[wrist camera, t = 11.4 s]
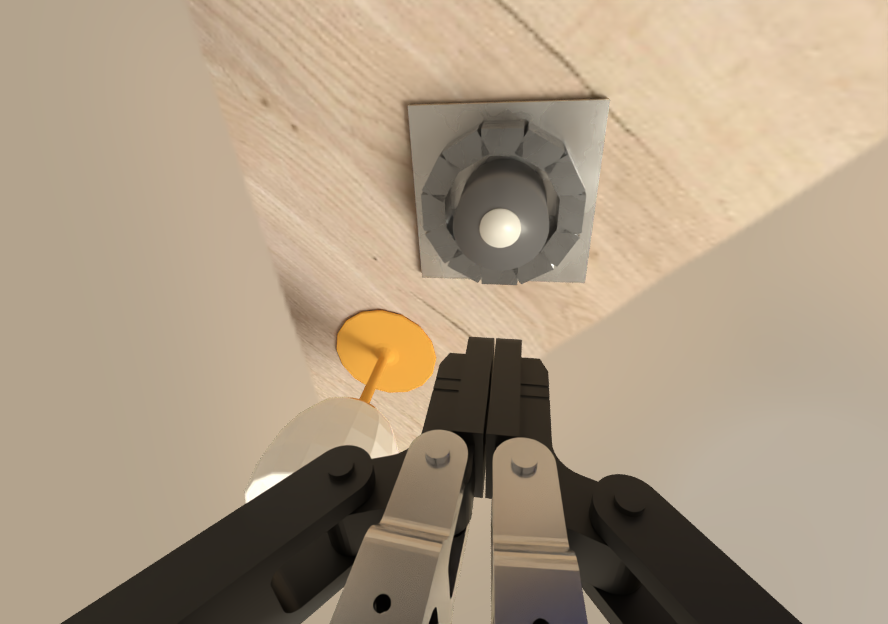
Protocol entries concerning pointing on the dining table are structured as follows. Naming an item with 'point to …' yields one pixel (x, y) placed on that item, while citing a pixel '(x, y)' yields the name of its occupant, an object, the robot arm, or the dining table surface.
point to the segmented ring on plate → (520, 138)
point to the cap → (502, 215)
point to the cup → (349, 419)
